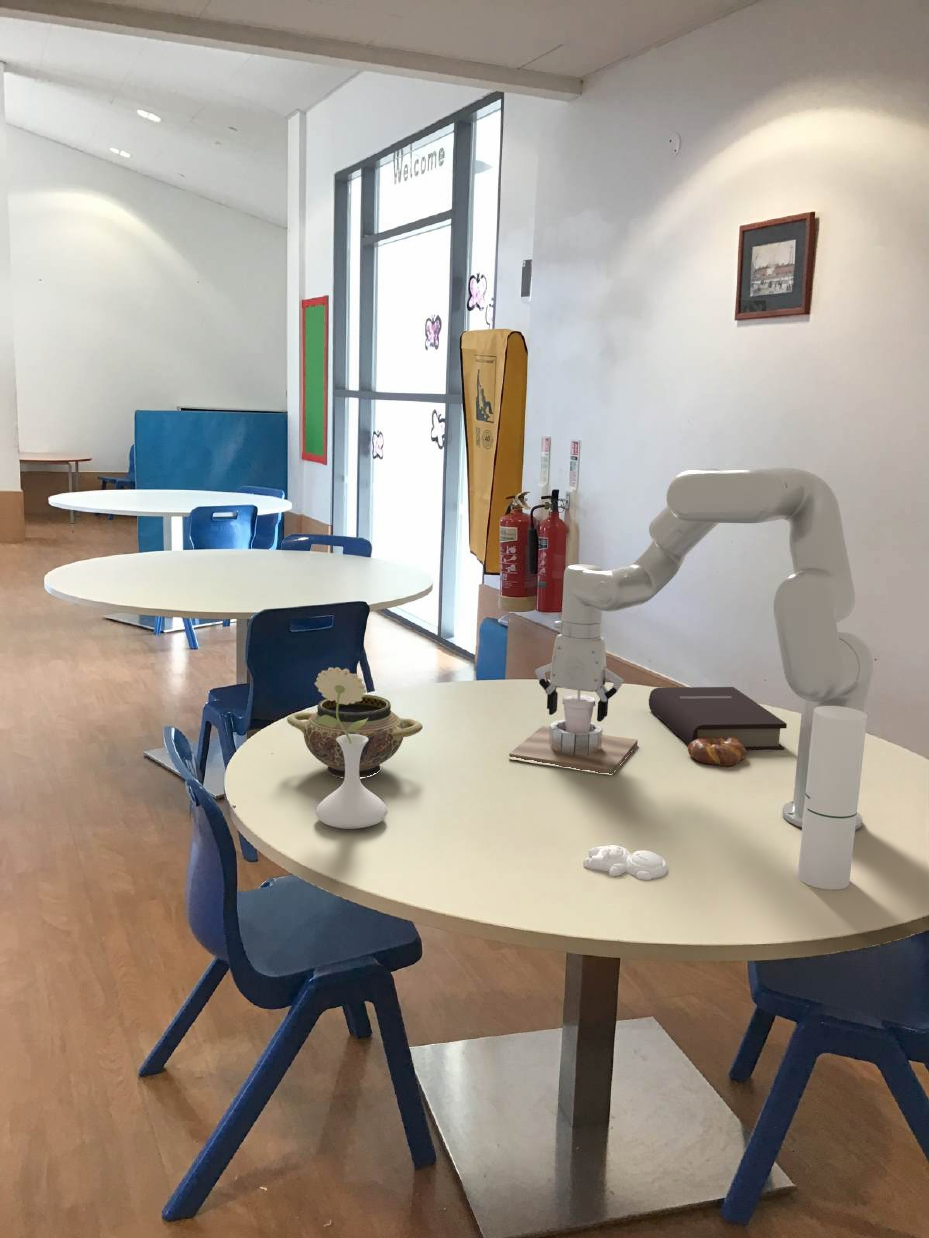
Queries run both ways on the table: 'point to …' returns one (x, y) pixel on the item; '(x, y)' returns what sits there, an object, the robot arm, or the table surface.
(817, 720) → the cylindrical container
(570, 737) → the steel sleeve
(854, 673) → the robot arm
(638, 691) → the table surface
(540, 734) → the walnut board
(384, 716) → the ceramic bowl
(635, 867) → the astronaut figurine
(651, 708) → the book
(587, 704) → the smoothie
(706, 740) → the pretzel
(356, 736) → the flower in vase
